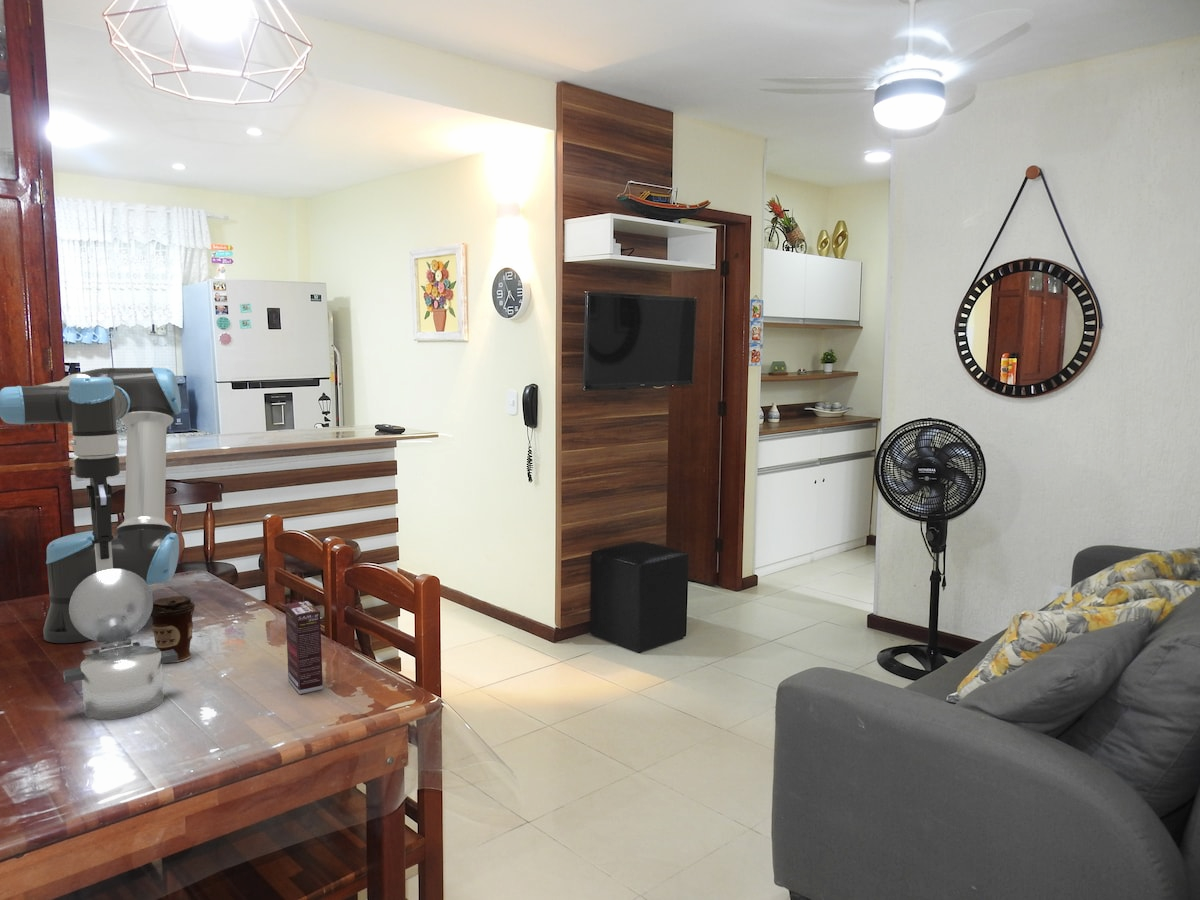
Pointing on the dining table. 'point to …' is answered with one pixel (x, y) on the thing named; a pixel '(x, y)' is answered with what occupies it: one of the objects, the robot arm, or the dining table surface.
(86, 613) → the lid
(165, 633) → the coffee cup
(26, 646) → the dining table surface
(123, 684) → the pot
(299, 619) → the supplement box
